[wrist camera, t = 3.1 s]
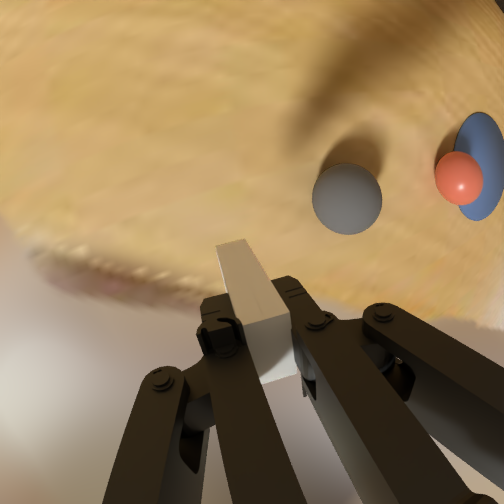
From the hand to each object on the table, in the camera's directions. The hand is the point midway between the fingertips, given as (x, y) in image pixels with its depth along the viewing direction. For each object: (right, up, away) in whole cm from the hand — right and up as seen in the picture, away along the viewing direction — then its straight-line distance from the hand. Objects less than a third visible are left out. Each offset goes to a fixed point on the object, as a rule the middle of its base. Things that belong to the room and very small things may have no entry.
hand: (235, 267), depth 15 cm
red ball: (+22, +8, +9) cm, 25 cm away
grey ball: (+8, +5, +7) cm, 12 cm away
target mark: (+30, +11, +12) cm, 34 cm away
